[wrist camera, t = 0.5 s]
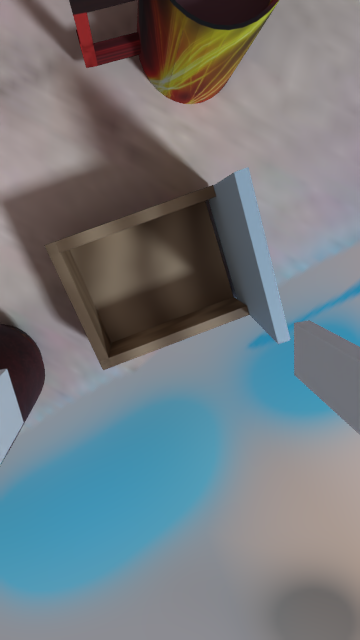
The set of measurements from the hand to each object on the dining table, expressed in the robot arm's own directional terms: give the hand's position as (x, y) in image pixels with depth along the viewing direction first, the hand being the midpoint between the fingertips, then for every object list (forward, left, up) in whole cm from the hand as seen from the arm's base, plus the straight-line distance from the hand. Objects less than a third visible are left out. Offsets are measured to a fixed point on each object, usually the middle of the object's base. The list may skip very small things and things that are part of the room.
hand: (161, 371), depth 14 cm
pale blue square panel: (-9, +4, -15) cm, 18 cm away
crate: (-2, 0, -22) cm, 22 cm away
